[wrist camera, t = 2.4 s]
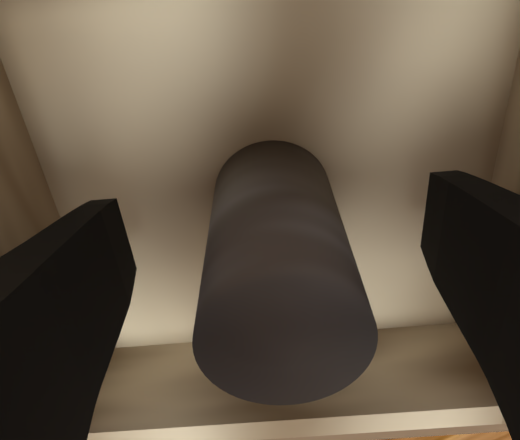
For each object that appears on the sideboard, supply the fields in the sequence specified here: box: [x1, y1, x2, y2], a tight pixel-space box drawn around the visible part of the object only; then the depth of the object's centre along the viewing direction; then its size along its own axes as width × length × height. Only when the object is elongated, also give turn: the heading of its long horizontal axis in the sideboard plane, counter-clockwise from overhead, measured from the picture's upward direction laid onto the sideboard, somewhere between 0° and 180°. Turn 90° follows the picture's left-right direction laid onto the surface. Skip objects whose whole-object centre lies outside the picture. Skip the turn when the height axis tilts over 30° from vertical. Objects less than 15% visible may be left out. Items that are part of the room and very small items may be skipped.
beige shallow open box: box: [0, 0, 520, 440], centre depth 10 cm, size 13×12×6 cm
